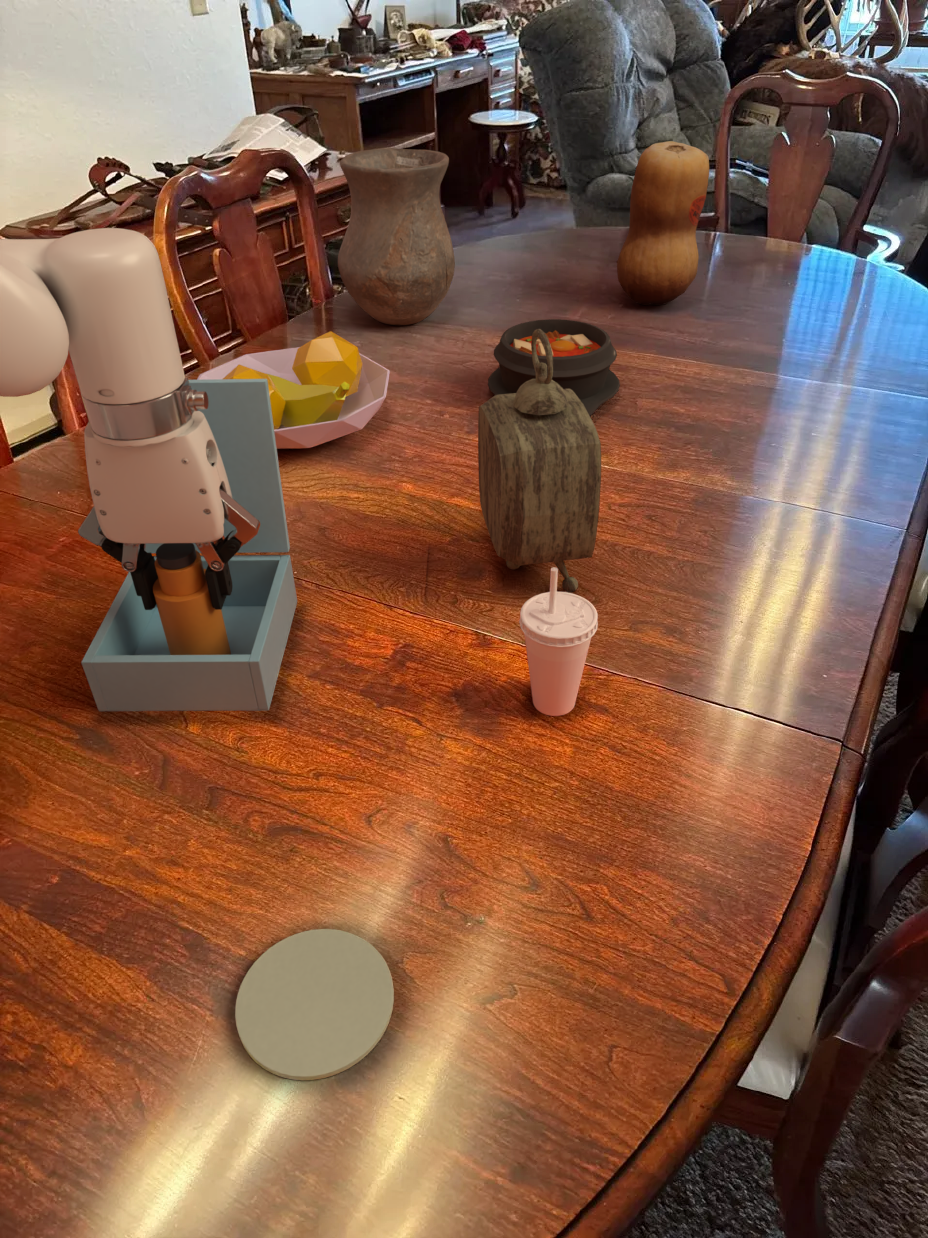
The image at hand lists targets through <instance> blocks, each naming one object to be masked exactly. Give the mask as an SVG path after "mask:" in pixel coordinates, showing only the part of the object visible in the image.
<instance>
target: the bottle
mask: <svg viewBox="0 0 928 1238" xmlns="http://www.w3.org/2000/svg"><path fill="white" fill-rule="evenodd" d="M155 556H156V557H157V558H156V560H155V568H156V572H157V575H158V579H157V580H156V581H155V583H154V585H153V593H154V597H155V600H156V604H157V608H158V611H159V615H160V618H161V622H162V626H163V629H164V633H165V637H166V640H167V644H168V647H169V651H170V655H231V651H230V646H229V642H228V637H227V633H226V629H225V624H224V620H223V615H222V611H221V610H215V608H213V607H212V603H211V599H210V595H209V590H208V586H207V582H206V577H205V571H206V569H203V564H202V560H201V556H202V555H201V553H199V552H198V551H196V550H195V546H194V544H193V543H164V544H162V545H161V546H159V547H158V549H157V550H156V553H155Z"/></svg>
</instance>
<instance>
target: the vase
mask: <svg viewBox="0 0 928 1238" xmlns="http://www.w3.org/2000/svg"><path fill="white" fill-rule="evenodd" d="M449 163H450V158H449V156H448V155H447V154H446V153H445V152H440V151H437V150H430V149H411V148H409V149H406V148H399V147H398V148H394V147H380V148H373V149H365V150H358V151H354V152H351V153H348V154H346V155H345V156H343V157H342V159H341V160H340V161H339V165H340V169H341V171H342V173H343V175H344V178H345V180H346V182H347V186H348V188H349V193H350V201H351V203H350V204H351V209H350V217H349V221H348V225H347V228H346V231H345V234H344V236H343V239H342V243H341V245H340V248H339V251H338V255H337V267H338V272H339V274H340V278H341V281H342V283H343V285H344V287H345V289H346V291H347V292H348V294H349V295H350V297H351V298H352V299H353V301H355V303H356V304H357V306H359V307H360V309H362V310H363V311H364V312H365V313H366V314H367V315H369V316H370V317H371V318H373V319H374V320H375V321H377V322H380V323H382V324H385V325H390V326H409V325H414V324H417V323H419V322H421V321H424V320H425V319H427V318H428V317H429V316H430V315H431V314H432V313H434V312H435V310H437V308H438V307H439V305H440V304H441V302H442V301H443V300H444V299H445V297H446V296H447V294H448V293H449V290H450V287H451V285H452V282H453V279H454V275H455V269H456V268H455V267H456V261H455V259H456V258H455V251H454V246H453V241H452V238H451V234H450V231H449V228H448V224H447V222H446V219H445V215H444V211H443V208H442V203H441V199H440V190H441V184H442V182H443V179H444V177H445V174H446V172H447V170H448V167H449Z"/></svg>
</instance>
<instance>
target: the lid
mask: <svg viewBox="0 0 928 1238" xmlns="http://www.w3.org/2000/svg"><path fill="white" fill-rule="evenodd" d="M188 380H189V385H190V386H191V388H192V390H197V392H198V391H205V392H207V395H208V401H209V404H208V409H199V410H198V411H200V412H202V413H203V414H204V416H205V418H206V420H207V422H208V424H209V426H210V429H211V431H212V434H213V436H214V439H215V441H216V444H217V447H218V450H219V452H220V455H221V458H222V461H223V465H224V468H225V471H226V475H227V478H228V482H229V485H230V489H231V494H232V498H233V499H234V500H235V501H236V502H238V503H239V504H240V505H241V506H242V507H243V508H245V509H246V510H247V511H248V512H249V513H250V514H252V515H253V516H254V517H255V518H256V519H257V520H259V522H260V528H259V530H258V533H257V535H256V536H255V537H253V538H252V539H251V540H250V541H249V542H247V543H246V544H245V545H243V546H242V547H241V548H240V549H239V551H238V552H237V553H236V554H239V553H240V554H243V553H244V554H245V553H248V554H249V553H255V554H256V553H260V554H261V553H289V552H290V550H291V544H290V536H289V531H288V529H289V528H288V522H287V515H286V508H285V507H286V506H285V501H284V492H283V486H282V485H283V484H282V477H281V470H280V464H279V463H280V462H279V456H278V449H277V448H276V440H275V433H274V425H273V418H272V411H271V403H270V396H269V388H268V381H267V379H209V380H197V379H188ZM223 526H224V534H223V535H224V537H226V536H227V535H228V534H229V533H230V532H231V531H233V530H235V529H236V527H235V526H233V525H232V524H231V523H230V522H229V521H228V520H226V519H225V518H224V524H223ZM162 544H164V543H146V550H145V551H146V552H147V553H151V554H156V550H157V549H158V547H159V546H161V545H162ZM193 544H194V546H195V550H196V551H198V552H199V553H200V554H201V552H200V550H199V549H198V547H197V545H196V544H195V543H193Z"/></svg>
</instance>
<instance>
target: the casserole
mask: <svg viewBox="0 0 928 1238" xmlns="http://www.w3.org/2000/svg"><path fill="white" fill-rule="evenodd" d="M536 329H541V330H542V331H543V332H544V333H545V334H546V336H547V338H548V340H549V342H550V346H551V350H552V357H553V376H552V380H553V381H555V382H556V383H558V384H559V385H560V386H561V387H562V388H563V389H571V390H573V392H574V393H575V394H576V395H577V397H578V398H579V399H580V400H581V402H582V403H583V404H584V406H585V408H586V410H587V412H588V414H589V416H590V417H591V416H592V415H593V414H594V413H595V412H596V411H597V410H598V409H599V407H601V405H603V404H605V403H606V402H607V401H610V399H612V398H614V396H616V395H617V393H618V392H619V390H620V388H621V382H620V379H619V378H618V376H617V375H616V374H615V373H616V372H613V371H612V370H611V365H613V363H615V361H616V360H617V356H618V353H617V350H616V348H615V346H613V344H612V340H611V336H610V335H609V333H608V332H607V331H605V330H604V329H602V328H601V327H599V326H596V325H594V324H591V323H587V322H584V321H579V320H572V319H561V318H560V319H559V318H558V319H555V318H551V319H549V318H547V319H536V320H530V321H525V322H521V323H517V324H516V325H513V326H511V327H509V328H507V329H506V330H505V331H503V332H502V335H501V337H500V339H499V342H498V344H496V346H495V348H494V349H493V357H494V359H495V360H496V361H497V362H498V366H499V367H497V368H496V369H495V370H493V372H492V373H491V374H490V375H489V377H488V378H487V386H488V389H489V390H490V392H491V393H492V394H493V395H494V396H495V395H501V394H512V393H517V391H518V389H519V387H520V386H521V385H522V384H524V383H525V382H527V381H529V380H531V379H536V372H535V369H534V365H533V361H532V349H531V343H532V334H533V332H534V331H535V330H536ZM536 352H537V356H538V360H539V363H541V362H542V363H545V364H546V365H547V359H546V354H545V350H544V347H543V345H542V343H541V341H540V339H539V338H537V341H536ZM547 376H548V365H547Z"/></svg>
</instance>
